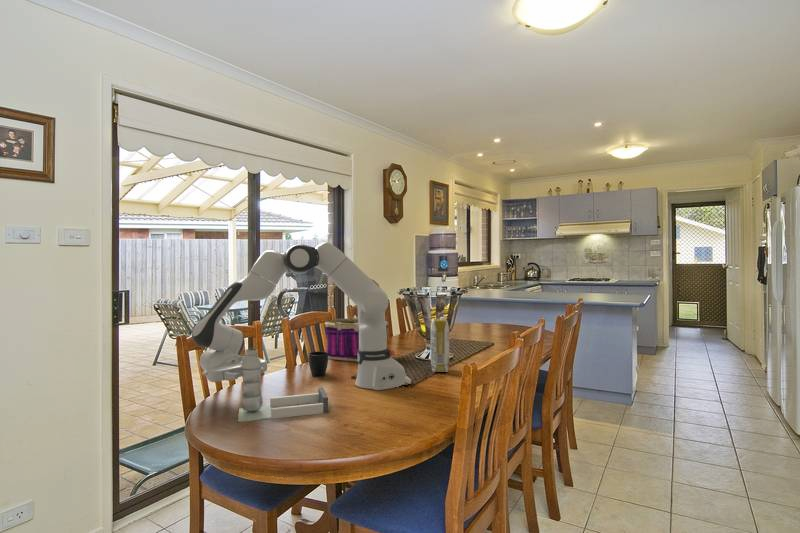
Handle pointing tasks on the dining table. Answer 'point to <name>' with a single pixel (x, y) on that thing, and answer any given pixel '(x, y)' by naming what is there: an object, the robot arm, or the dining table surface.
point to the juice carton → (440, 345)
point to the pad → (254, 414)
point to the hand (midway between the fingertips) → (249, 373)
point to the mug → (318, 363)
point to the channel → (299, 410)
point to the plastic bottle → (251, 381)
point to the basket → (343, 336)
